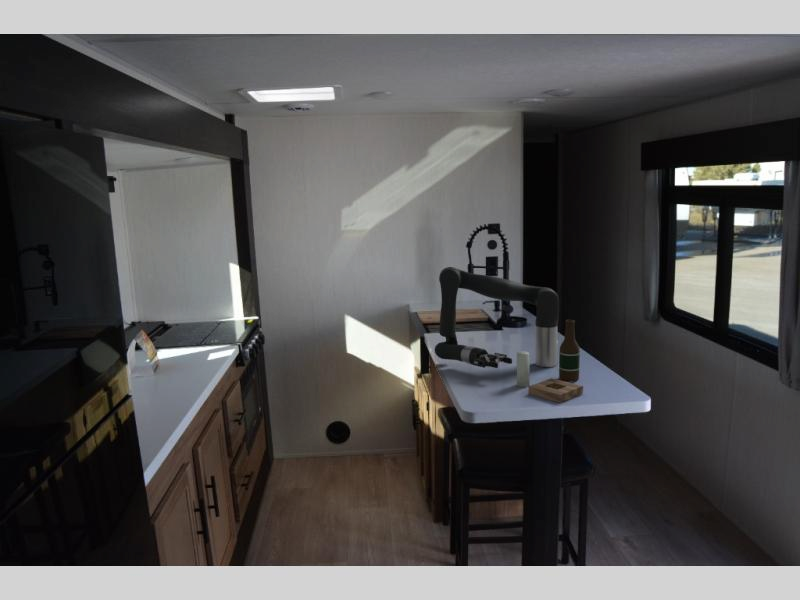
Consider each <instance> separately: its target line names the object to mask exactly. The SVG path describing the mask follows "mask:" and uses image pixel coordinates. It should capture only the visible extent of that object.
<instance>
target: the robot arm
mask: <svg viewBox="0 0 800 600" xmlns="http://www.w3.org/2000/svg"><path fill="white" fill-rule="evenodd" d="M438 282H439V284H440V291H441V292H440V293H441V306H440V314H439V326H438V327H439V329H438V330H439V331H438V332H439V335H440V336H441V337H443V338H445V341H441V342H438V343H437V344H436V345H435V347H434V354H435V355H436V356H437V357H438V358H439V359H442V360H450V361H452V360H453V361H458V362H461V363H462V362H463V363H466V364H468V365H472V366H474V367H475V366H476V367H479V368H484V369H486V368H493V369H499V363H504V364H508V365H510V364H513V359H512V358H511V357H508V355H507V354H504V353H500V352H499V353H498V352H494V353H488V351H487V350H486V349H485V348H482V347H481V348H480V347H475V346H473V345H472V346H470V345H464V344H459V343H458V339H457V338H458V337H457V334H456V326H457V297H458V292H459V289H463V290H468V291H472V292H475V294H479V295H481V296H484V297H487V298H489V299H494V300H501V301H506V302H523V303H527V304H530V305H533V306H536V317H535V323H534V324H535V325H534V327H535V328H534V330H535V334H534V336H535V337H534V338H535V341H534V343H535V344H534V365H535V366H537V367H542V368H551V367H552V368H553V367H556V366H557V365H559V342H558V325H559V323H558V322H559V315H560V314H559V313H560V311H559V310H560V299H559V295H558V293H557V292H556V291H555V290H553V289H552V288H550V287H545V286H543V287H542V286H534V285H528V284H523V283H520V282H518V281H514V280H509V279H506V278H502V277H498V276H491V275H486V274H477V273H471V272H468V271H465V270H461V269H458V268H457V267H452V266H447V267H445V268H443V269H442V270H440V273H439V276H438Z"/></svg>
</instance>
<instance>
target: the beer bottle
mask: <svg viewBox="0 0 800 600" xmlns="http://www.w3.org/2000/svg"><path fill="white" fill-rule="evenodd" d="M564 322H565V332H564V338H563V339H564V340H563V341H562V342H561V344H560V347H559V350H558V378H559V380H560V381H562V380H563V381H565V382H568V381H573V382H577V381H578V380H579V379H580V354H581V352H580V345H579V343H578V341H576V335H575V324H576V320H574V319H566V320H565V321H564Z"/></svg>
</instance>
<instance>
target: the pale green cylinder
mask: <svg viewBox="0 0 800 600" xmlns="http://www.w3.org/2000/svg"><path fill="white" fill-rule="evenodd" d="M516 386H517V387H518V386H519V388H529V386H530V352H528V351H524V350H521V351H517V352H516Z"/></svg>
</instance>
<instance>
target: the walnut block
mask: <svg viewBox="0 0 800 600" xmlns="http://www.w3.org/2000/svg"><path fill="white" fill-rule="evenodd" d="M582 393H583V394H584V386H583V385H580V384H576V383H573V382H568V381H562V380H561V379H556V378H551V377H550V378H547V379H545V380H542V381H540V382H537V383H535V384H530V385H529V386H528V395H530V394H531V396H534V395H535V397H537V396H538V397H539V398H541V397H542V398H541V399H545V400H547V401H548V400H549V401H552V402H557V403H560V404H561V403H564V402H566V401H569V400H572V399H573V398H576V397H578V395H579V396H581V395H583V394H582ZM580 394H581V395H580Z"/></svg>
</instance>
